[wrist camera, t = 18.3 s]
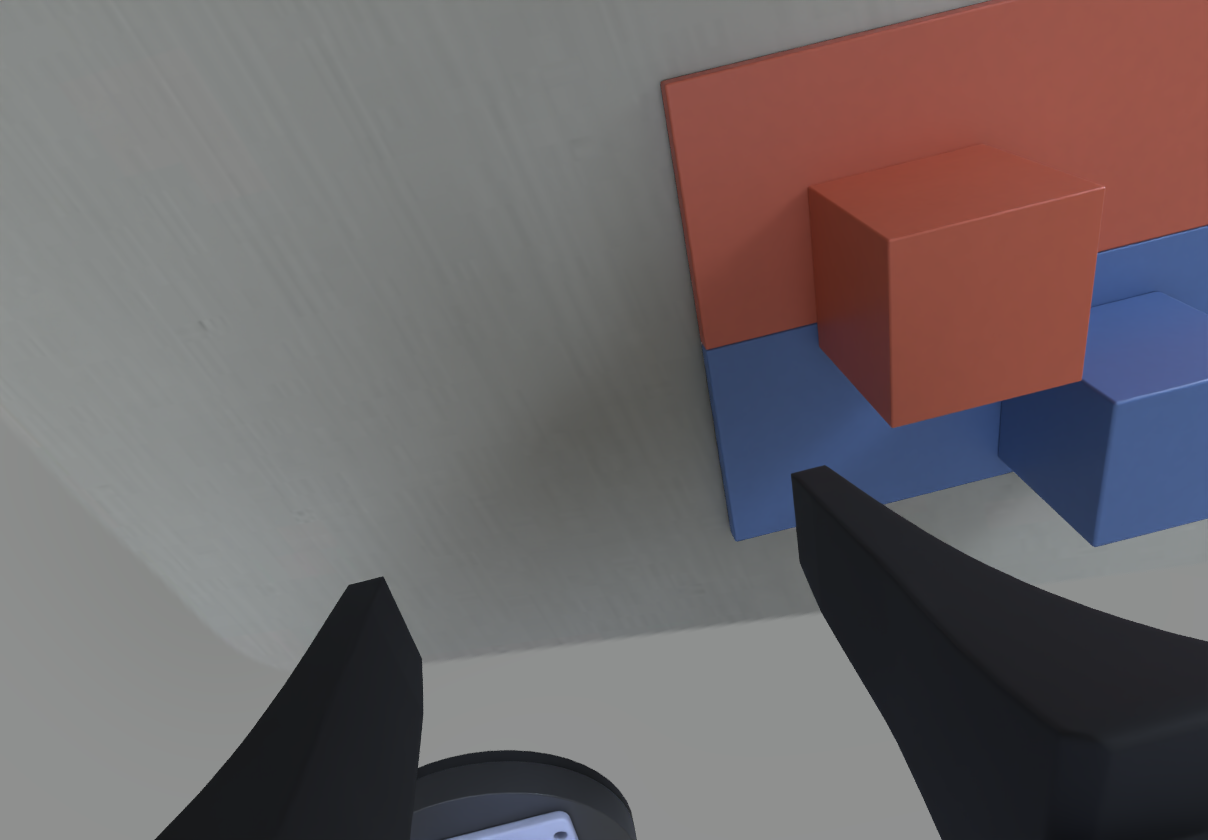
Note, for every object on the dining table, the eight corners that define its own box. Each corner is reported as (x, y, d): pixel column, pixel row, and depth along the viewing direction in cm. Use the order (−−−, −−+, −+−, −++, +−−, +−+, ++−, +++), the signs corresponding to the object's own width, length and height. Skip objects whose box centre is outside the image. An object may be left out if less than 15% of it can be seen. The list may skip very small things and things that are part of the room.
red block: (976, 307, 22) (1083, 381, 18) (818, 347, 22) (891, 429, 18) (982, 142, 20) (1107, 185, 16) (807, 185, 20) (887, 240, 16)
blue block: (1136, 422, 25) (1258, 507, 21) (996, 457, 25) (1093, 549, 21) (1158, 289, 23) (1300, 357, 19) (1005, 327, 23) (1115, 404, 19)
